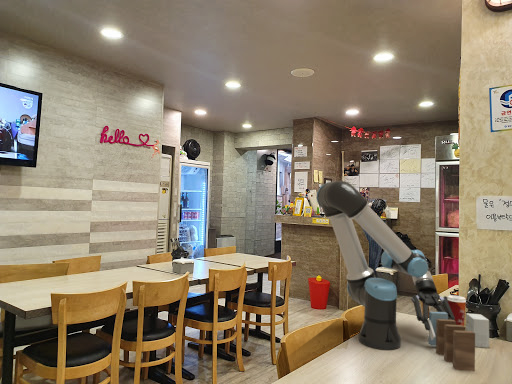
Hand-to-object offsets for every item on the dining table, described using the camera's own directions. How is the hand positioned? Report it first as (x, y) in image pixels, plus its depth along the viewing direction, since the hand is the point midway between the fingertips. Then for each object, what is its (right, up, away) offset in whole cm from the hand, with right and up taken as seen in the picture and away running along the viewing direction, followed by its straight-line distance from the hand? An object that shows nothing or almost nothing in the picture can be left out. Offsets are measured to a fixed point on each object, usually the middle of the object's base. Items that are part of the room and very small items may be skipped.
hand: (442, 338), depth 135 cm
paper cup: (+18, -6, +25) cm, 32 cm away
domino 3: (0, -4, -15) cm, 15 cm away
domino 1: (0, -5, -3) cm, 5 cm away
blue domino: (0, -4, +4) cm, 5 cm away
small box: (+18, -6, +9) cm, 21 cm away
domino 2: (0, -4, -9) cm, 10 cm away
